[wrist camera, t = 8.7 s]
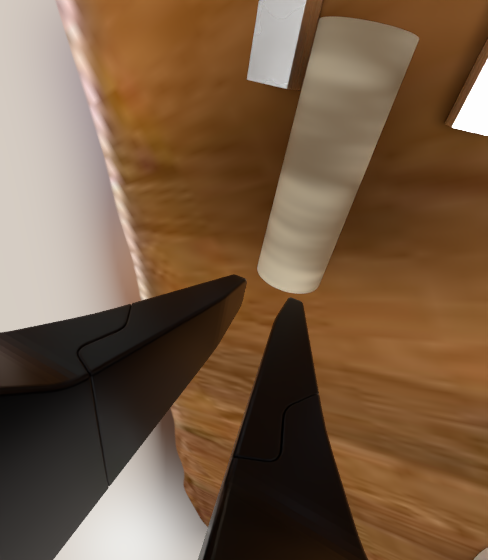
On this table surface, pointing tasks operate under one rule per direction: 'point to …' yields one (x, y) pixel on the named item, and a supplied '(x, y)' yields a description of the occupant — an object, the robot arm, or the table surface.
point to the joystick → (482, 555)
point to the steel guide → (297, 46)
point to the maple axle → (331, 144)
